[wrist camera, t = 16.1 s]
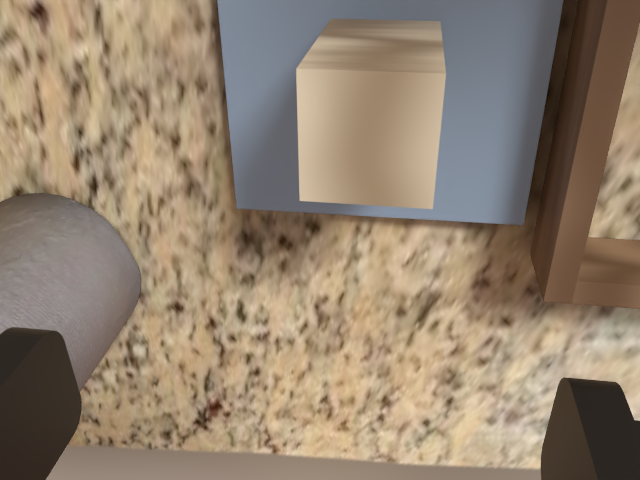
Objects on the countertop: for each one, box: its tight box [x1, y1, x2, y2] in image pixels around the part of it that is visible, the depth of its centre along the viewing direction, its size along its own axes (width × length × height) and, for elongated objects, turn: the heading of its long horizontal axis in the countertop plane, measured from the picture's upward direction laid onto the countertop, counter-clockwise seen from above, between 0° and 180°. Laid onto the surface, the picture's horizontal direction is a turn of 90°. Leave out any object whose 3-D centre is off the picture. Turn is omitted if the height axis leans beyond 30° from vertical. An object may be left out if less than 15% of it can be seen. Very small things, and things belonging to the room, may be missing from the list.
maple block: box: [296, 19, 446, 209], centre depth 23 cm, size 4×4×8 cm
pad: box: [217, 0, 564, 225], centre depth 27 cm, size 14×14×1 cm
